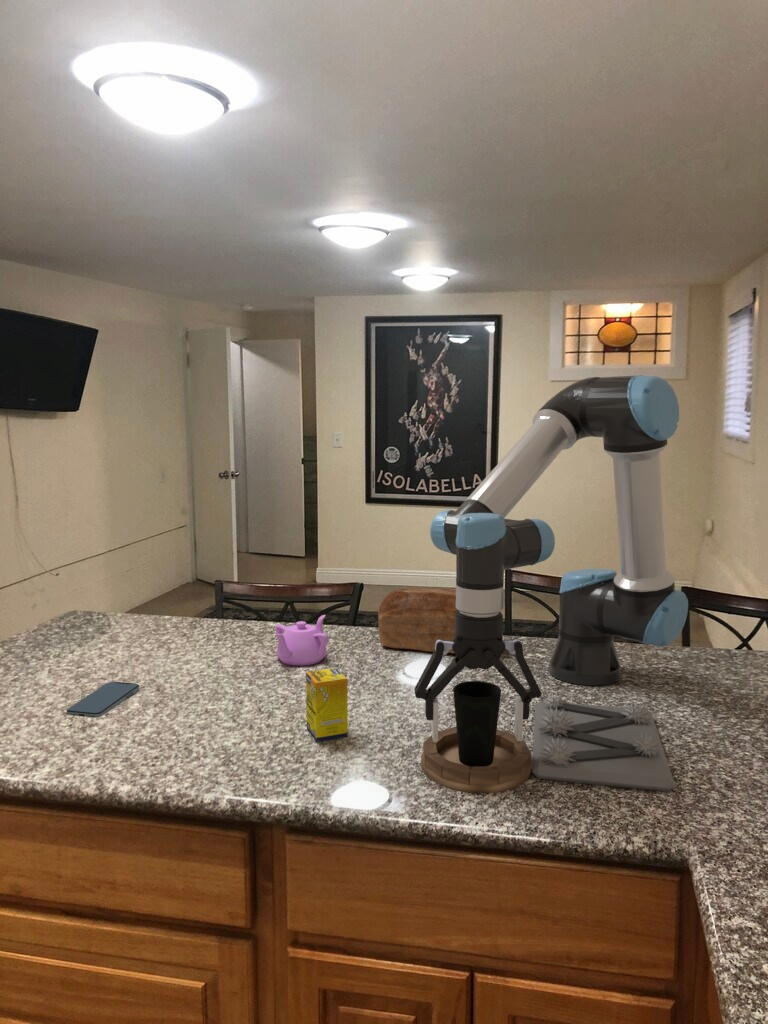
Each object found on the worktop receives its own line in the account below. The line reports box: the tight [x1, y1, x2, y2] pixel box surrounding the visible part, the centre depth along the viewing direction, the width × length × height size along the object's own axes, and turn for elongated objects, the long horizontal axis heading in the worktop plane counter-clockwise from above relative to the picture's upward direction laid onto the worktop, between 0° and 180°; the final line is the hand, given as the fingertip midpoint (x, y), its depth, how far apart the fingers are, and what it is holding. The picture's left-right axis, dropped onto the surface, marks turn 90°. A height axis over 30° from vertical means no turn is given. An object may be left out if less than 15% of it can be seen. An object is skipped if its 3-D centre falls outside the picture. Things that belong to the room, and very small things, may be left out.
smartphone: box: [66, 681, 140, 718], centre depth 153 cm, size 8×2×15 cm
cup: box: [452, 680, 502, 767], centre depth 126 cm, size 8×8×12 cm
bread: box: [377, 587, 458, 654], centre depth 187 cm, size 12×28×14 cm, turn 73°
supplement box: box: [305, 667, 349, 743], centre depth 138 cm, size 6×6×11 cm
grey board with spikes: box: [531, 692, 676, 792], centre depth 133 cm, size 30×22×7 cm
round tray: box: [420, 726, 533, 794], centre depth 126 cm, size 18×18×3 cm
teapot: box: [274, 614, 329, 667], centre depth 178 cm, size 12×14×9 cm
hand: (476, 738), depth 126 cm, fingers open, 13 cm apart
